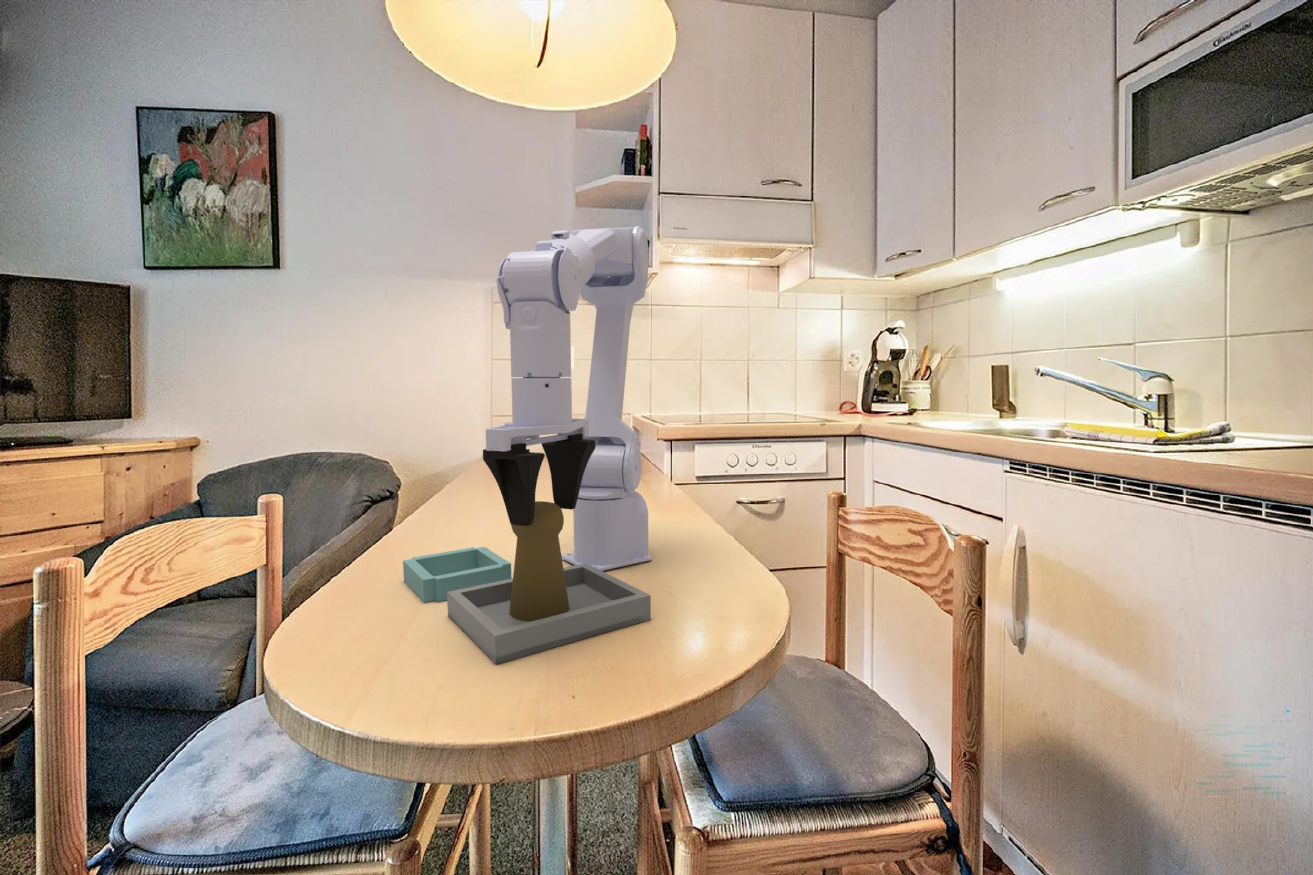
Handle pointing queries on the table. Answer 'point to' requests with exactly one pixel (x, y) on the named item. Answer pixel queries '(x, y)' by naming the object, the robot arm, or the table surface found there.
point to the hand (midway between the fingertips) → (544, 515)
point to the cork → (539, 567)
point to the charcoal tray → (591, 613)
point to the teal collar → (453, 572)
